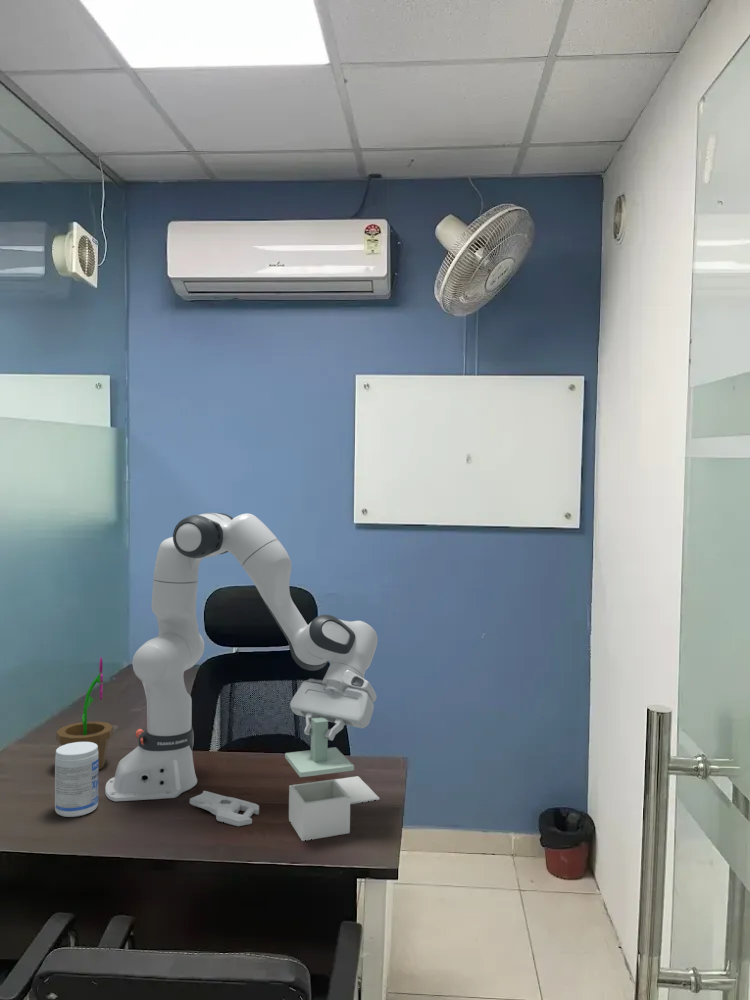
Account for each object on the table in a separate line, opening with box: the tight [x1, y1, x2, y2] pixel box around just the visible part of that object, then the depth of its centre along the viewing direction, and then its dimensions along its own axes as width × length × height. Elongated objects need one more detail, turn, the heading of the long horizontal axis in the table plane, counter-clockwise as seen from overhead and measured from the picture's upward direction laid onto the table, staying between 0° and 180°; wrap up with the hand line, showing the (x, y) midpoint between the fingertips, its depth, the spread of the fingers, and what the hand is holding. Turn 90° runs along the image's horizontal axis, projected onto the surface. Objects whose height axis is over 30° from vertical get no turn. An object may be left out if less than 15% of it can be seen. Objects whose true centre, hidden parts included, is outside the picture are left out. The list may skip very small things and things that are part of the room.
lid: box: [284, 717, 355, 778], centre depth 167 cm, size 12×12×11 cm
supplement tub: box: [54, 742, 99, 818], centre depth 173 cm, size 10×10×15 cm
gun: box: [189, 790, 260, 827], centre depth 173 cm, size 18×4×10 cm
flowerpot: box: [55, 656, 114, 771], centre depth 200 cm, size 14×14×30 cm
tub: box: [288, 778, 351, 842], centre depth 167 cm, size 11×11×8 cm
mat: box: [334, 775, 380, 805], centre depth 186 cm, size 15×15×1 cm
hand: (317, 736), depth 166 cm, fingers closed on lid, 4 cm apart
